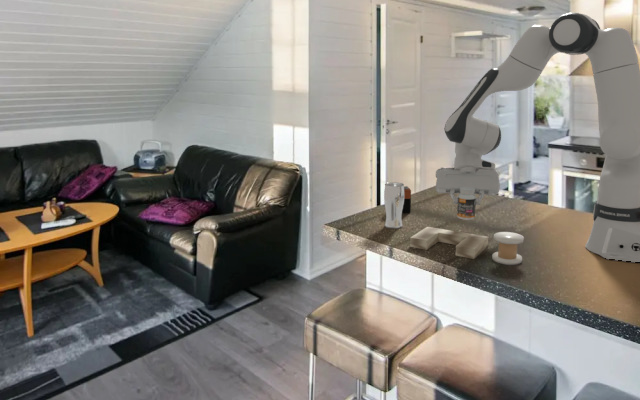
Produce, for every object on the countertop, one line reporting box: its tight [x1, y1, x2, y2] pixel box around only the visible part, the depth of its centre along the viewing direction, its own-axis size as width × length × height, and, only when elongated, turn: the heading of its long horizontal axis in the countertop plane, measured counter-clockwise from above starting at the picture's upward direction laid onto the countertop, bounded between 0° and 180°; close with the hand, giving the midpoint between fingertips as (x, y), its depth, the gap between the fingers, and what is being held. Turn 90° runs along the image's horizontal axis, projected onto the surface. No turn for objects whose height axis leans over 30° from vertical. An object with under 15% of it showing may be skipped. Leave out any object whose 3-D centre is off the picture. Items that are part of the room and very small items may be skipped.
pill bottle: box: [456, 187, 477, 221], centre depth 165 cm, size 6×6×10 cm
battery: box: [402, 185, 412, 214], centre depth 194 cm, size 4×7×10 cm, turn 90°
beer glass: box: [383, 181, 405, 230], centre depth 176 cm, size 7×7×15 cm
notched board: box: [409, 226, 489, 260], centre depth 156 cm, size 20×13×3 cm, turn 55°
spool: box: [491, 231, 525, 266], centre depth 144 cm, size 8×8×7 cm
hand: (466, 203), depth 164 cm, fingers closed on pill bottle, 6 cm apart
